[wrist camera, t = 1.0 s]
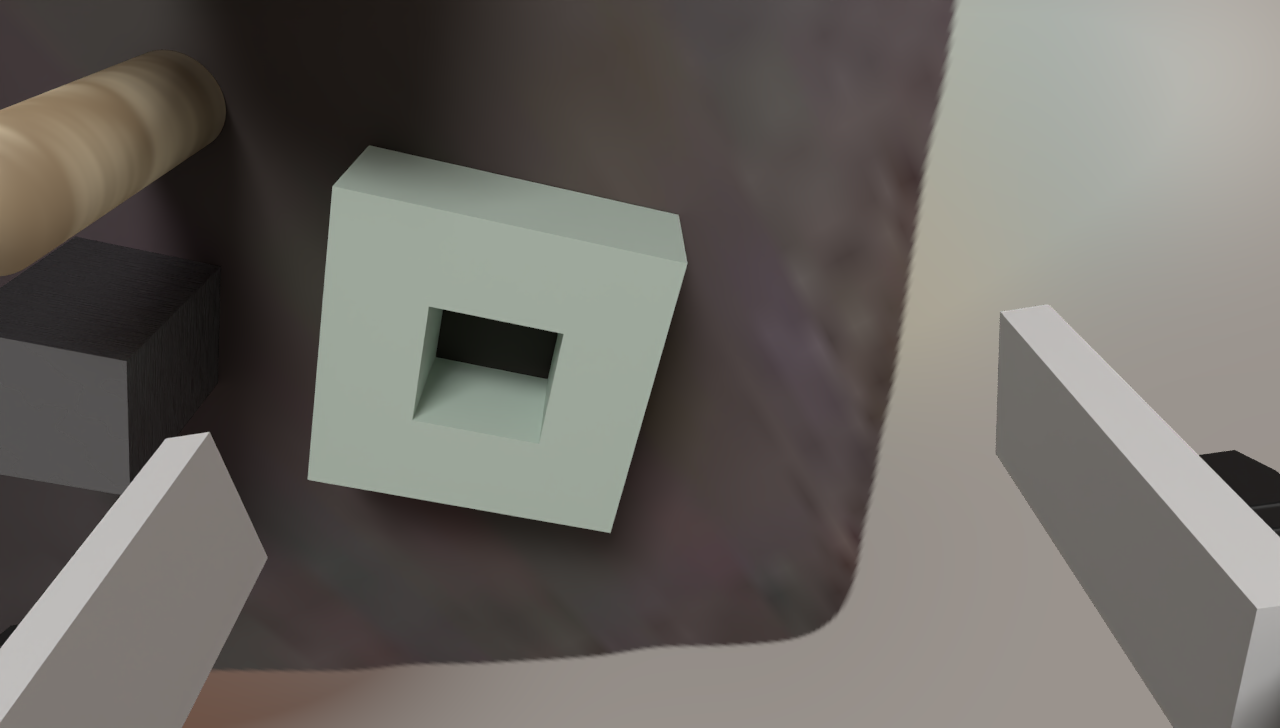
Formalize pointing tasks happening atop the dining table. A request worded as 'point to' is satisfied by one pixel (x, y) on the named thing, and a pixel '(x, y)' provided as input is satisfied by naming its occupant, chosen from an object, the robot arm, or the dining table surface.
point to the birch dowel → (98, 147)
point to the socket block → (500, 290)
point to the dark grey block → (103, 361)
